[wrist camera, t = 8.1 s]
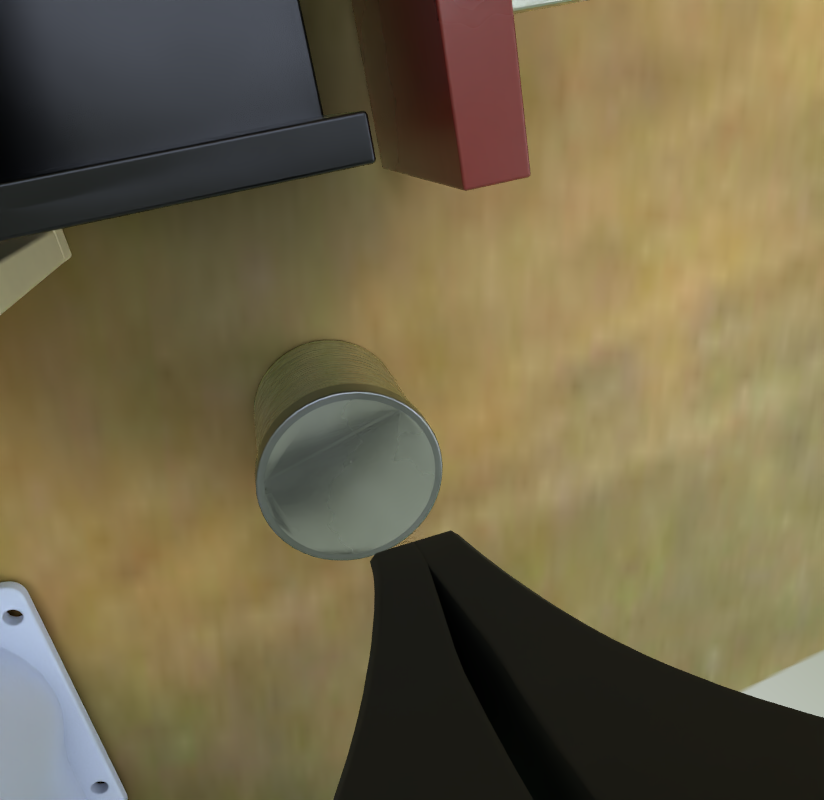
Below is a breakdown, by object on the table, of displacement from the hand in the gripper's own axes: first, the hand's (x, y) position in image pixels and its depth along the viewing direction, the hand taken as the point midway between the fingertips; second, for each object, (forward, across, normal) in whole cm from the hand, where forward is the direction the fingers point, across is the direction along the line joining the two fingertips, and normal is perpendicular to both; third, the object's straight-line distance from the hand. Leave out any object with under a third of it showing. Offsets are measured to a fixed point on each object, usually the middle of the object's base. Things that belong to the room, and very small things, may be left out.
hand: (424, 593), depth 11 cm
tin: (+10, 0, +1) cm, 10 cm away
